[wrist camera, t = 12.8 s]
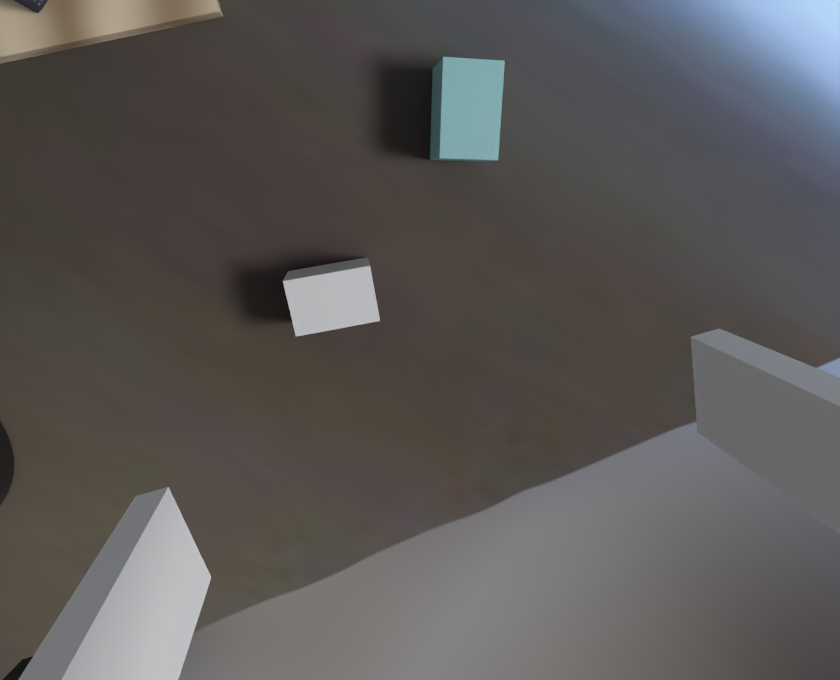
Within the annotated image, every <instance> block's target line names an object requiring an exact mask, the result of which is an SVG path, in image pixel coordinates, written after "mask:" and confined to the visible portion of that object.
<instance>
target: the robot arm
mask: <svg viewBox="0 0 840 680" xmlns="http://www.w3.org/2000/svg"><path fill="white" fill-rule="evenodd" d="M691 347H692V361H693V374H694V388H695V402H696V416H697V430H698V433H700V434H701V435H702V436H704V437H705V438H707V439H708V440H709V441H711V442H712V443H714V444H715V445H716V446H718V447H719V448H721V449H722V450H723V451H725V452H726V453H727V454H729V455H730V456H731V457H733V458H734V459H736V460H737V461H738V462H740V463H741V464H743V465H744V466H745V467H747V468H748V469H749V470H751V471H752V472H754V473H755V474H756V475H758V476H759V477H760V478H762V479H763V480H765V481H766V482H767V483H769V484H770V485H772V486H773V487H774V488H776V489H777V490H779V491H780V492H781V493H783V494H784V495H785V496H787V497H788V498H790V499H791V500H792V501H794V502H795V503H797V504H798V505H799V506H801V507H802V508H803V509H805V510H806V511H808V512H809V513H810V514H812V515H813V516H815V517H816V518H817V519H819V520H820V521H821V522H823V523H824V524H825V525H827V526H828V527H830V528H831V529H832V530H834V531H835V532H837V533H838V534H839V535H840V378H839V377H836V376H834V375H831V374H829V373H827V372H824V371H822V370H819V369H817V368H814V367H812V366H810V365H807V364H805V363H802V362H800V361H797V360H795V359H792V358H790V357H787V356H785V355H783V354H780V353H778V352H775V351H773V350H770V349H768V348H765V347H763V346H761V345H758V344H756V343H753V342H751V341H748V340H746V339H743V338H741V337H738V336H736V335H734V334H731V333H729V332H726V331H724V330H721V329H717V330H713V331H710V332H706V333H703V334H699V335H696V336H692V337H691ZM13 473H14V458H13V452H12V447H11V444H10V441H9V438H8V436H7V433H6V431H5V429H4V427H3V426H2V424H1V422H0V505H1V503H2V502H3V500H4V499H5V497H6V495H7V493H8V491H9V489H10V486H11V483H12V479H13ZM210 580H211V576H210V574H209V572H208V569H207V567H206V565H205V563H204V561H203V559H202V557H201V555H200V553H199V550H198V548H197V546H196V544H195V542H194V540H193V538H192V536H191V534H190V532H189V529H188V527H187V525H186V523H185V521H184V519H183V517H182V515H181V513H180V510H179V508H178V506H177V504H176V502H175V500H174V498H173V496H172V494H171V491H170V489H169V487H166V488H163V489H159V490H156V491H152V492H149V493H145V494H142V495H138V496H136V497H135V498H134V500H133V501H132V503H131V504H130V506H129V507H128V509H127V511H126V512H125V514H124V515H123V517H122V518H121V520H120V522H119V523H118V525H117V526H116V528H115V529H114V531H113V532H112V534H111V536H110V537H109V539H108V540H107V542H106V543H105V545H104V547H103V548H102V550H101V551H100V553H99V554H98V556H97V558H96V559H95V561H94V562H93V564H92V565H91V567H90V568H89V570H88V572H87V573H86V575H85V576H84V578H83V579H82V581H81V583H80V584H79V586H78V587H77V589H76V590H75V592H74V593H73V595H72V597H71V598H70V600H69V601H68V603H67V604H66V606H65V608H64V609H63V611H62V612H61V614H60V615H59V617H58V618H57V620H56V622H55V623H54V625H53V626H52V628H51V629H50V631H49V633H48V634H47V636H46V637H45V639H44V640H43V642H42V643H41V645H40V647H39V648H38V650H37V651H36V653H35V654H34V656H33V657H29V658H26V659H23V660H22V661H21V662H20V663H19V664H18V665H17V666H16V667H15V668H14V669H13V670H12V671H11V672H10V673H9V674H8V675H7V676H6V677H5V678H4V679H3V680H178V679H179V676H180V673H181V670H182V666H183V663H184V660H185V657H186V654H187V651H188V648H189V645H190V642H191V638H192V636H193V632H194V629H195V626H196V623H197V620H198V617H199V614H200V611H201V608H202V605H203V602H204V598H205V595H206V592H207V589H208V586H209V583H210Z"/></svg>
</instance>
